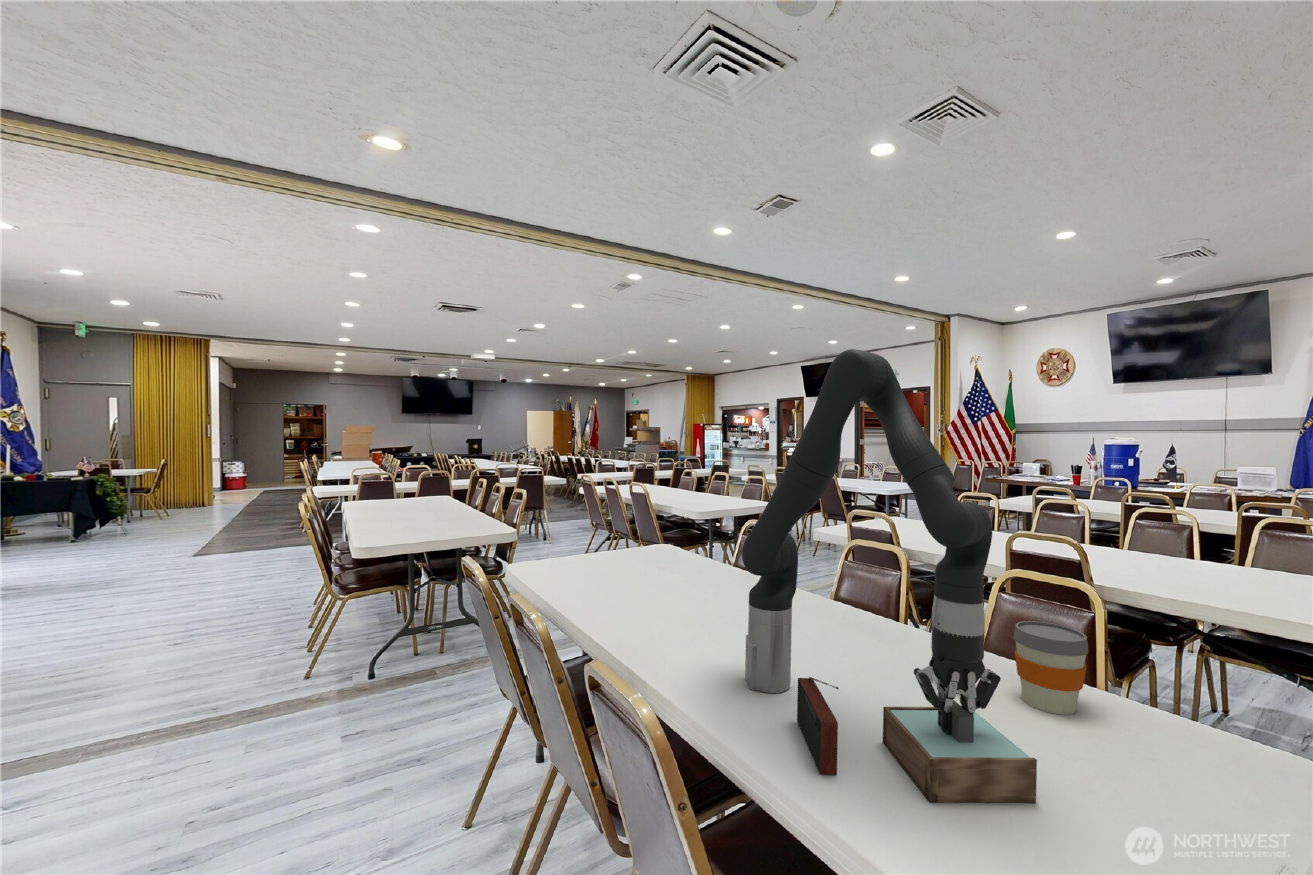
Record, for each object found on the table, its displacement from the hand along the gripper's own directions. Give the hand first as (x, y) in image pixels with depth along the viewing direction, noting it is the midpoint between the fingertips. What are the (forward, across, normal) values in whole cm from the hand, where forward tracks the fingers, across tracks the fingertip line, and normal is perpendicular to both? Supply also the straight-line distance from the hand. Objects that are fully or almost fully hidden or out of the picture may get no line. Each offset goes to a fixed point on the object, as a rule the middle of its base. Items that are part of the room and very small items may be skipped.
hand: (955, 731), depth 90 cm
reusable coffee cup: (+6, +33, +23) cm, 40 cm away
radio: (+7, -21, +6) cm, 23 cm away
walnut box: (+6, 0, 0) cm, 6 cm away
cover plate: (+1, 0, 0) cm, 1 cm away
